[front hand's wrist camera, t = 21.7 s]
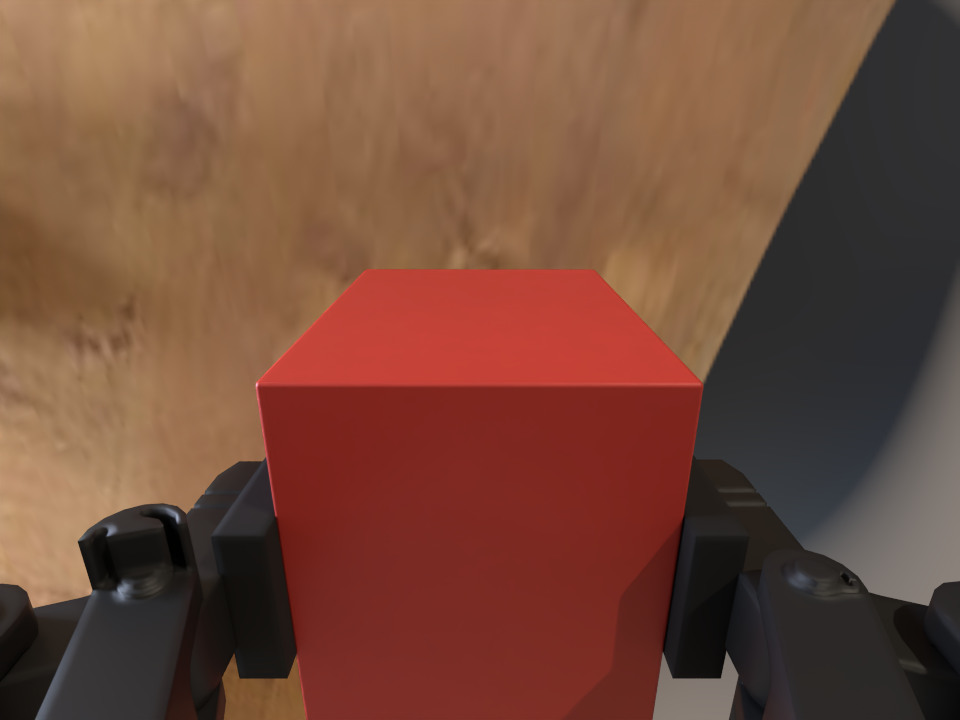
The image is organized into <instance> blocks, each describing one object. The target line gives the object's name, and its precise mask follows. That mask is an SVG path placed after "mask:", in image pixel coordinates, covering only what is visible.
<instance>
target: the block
mask: <svg viewBox="0 0 960 720" xmlns="http://www.w3.org/2000/svg"><path fill="white" fill-rule="evenodd" d="M256 392H257V399H258V405H259V412H260V419H261V425H262V432H263V438H264V445H265V452H266V458H267V465H268V471H269V478H270V484H271V491H272V498H273V504H274V511H275V516H276V523H277V529H278V536H279V542H280V549H281V555H282V562H283V568H284V575H285V581H286V588H287V595H288V601H289V608H290V614H291V621H292V627H293V634H294V640H295V647H296V656H297V662H298V669H299V675H300V682H301V688H302V695H303V702H304V708H305V715H306V720H652V719H653V712H654V705H655V699H656V692H657V686H658V679H659V673H660V666H661V660H662V653H663V647H664V640H665V634H666V627H667V620H668V614H669V607H670V601H671V594H672V588H673V581H674V575H675V568H676V562H677V555H678V549H679V542H680V536H681V529H682V522H683V516H684V509H685V503H686V496H687V490H688V483H689V477H690V470H691V464H692V457H693V451H694V444H695V437H696V431H697V424H698V418H699V411H700V405H701V398H702V392H703V384H702V382H701V381H700V380H699V379H698V378H697V377H696V376H695V375H694V374H693V373H692V372H691V371H690V369H689V368H688V367H687V366H686V365H685V364H684V363H683V362H682V361H681V360H680V359H679V358H678V357H677V356H676V355H675V354H674V353H673V352H672V351H671V350H670V349H669V347H668V346H667V345H666V344H665V343H664V342H663V341H662V340H661V339H660V338H659V337H658V336H657V335H656V334H655V333H654V332H653V331H652V330H651V329H650V328H649V327H648V326H647V324H646V323H645V322H644V321H643V320H642V319H641V318H640V317H639V316H638V315H637V314H636V313H635V312H634V311H633V310H632V309H631V308H630V307H629V306H628V305H627V304H626V302H625V301H624V300H623V299H622V298H621V297H620V296H619V295H618V294H617V293H616V292H615V291H614V290H613V289H612V288H611V287H610V286H609V285H608V284H607V283H606V282H605V281H604V279H603V278H602V277H601V276H600V275H599V274H598V273H597V272H596V271H595V270H455V269H367V270H365V271H364V272H363V273H362V274H361V275H360V276H359V277H358V278H357V279H356V280H355V281H354V282H353V283H352V284H351V285H350V286H349V287H348V288H347V289H346V291H345V292H344V293H343V294H342V295H341V296H340V297H339V298H338V299H337V300H336V301H335V302H334V303H333V304H332V305H331V306H330V307H329V308H328V309H327V310H326V311H325V312H324V313H323V314H322V315H321V316H320V317H319V318H318V319H317V320H316V321H315V323H314V324H313V325H312V326H311V327H310V328H309V329H308V330H307V331H306V332H305V333H304V334H303V335H302V336H301V337H300V338H299V339H298V340H297V341H296V342H295V343H294V344H293V345H292V346H291V347H290V348H289V349H288V350H287V351H286V352H285V353H284V355H283V356H282V357H281V358H280V359H279V360H278V361H277V362H276V363H275V364H274V365H273V366H272V367H271V368H270V369H269V370H268V371H267V372H266V373H265V374H264V375H263V376H262V377H261V378H260V379H259V380H258V381H257V383H256Z"/></svg>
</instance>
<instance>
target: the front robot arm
mask: <svg viewBox="0 0 960 720" xmlns="http://www.w3.org/2000/svg"><path fill="white" fill-rule="evenodd" d="M78 544H79V547H80V550H81V554H82V557H83V560H84V563H85V567H86V570H87V573H88V576H89V580H90V583H91V586H92V589H93V591H92V593H91V595H89V596H86V597H82V598H78V599H73V600H69V601H64V602H60V603H55V604H51V605H46V606H41V607H37V608H32V605H31V602H30V599H29V597H28V594H27V592H26V591H25V590H23V589H22V588H21V587H19V586H18V585H9V584H0V720H224V712H225V704H226V698H225V691H224V686H223V681H222V676H223V674H224V672H225V670H226V668H227V666H228V664H229V662H230V660H231V658H232V656H233V654H234V653H235V658H236V663H237V668H238V673H239V677H240V678H288V676H289V673H290V670H291V668H292V665H293V662H294V659H295V657H296V647H295V640H294V634H293V627H292V621H291V614H290V608H289V601H288V595H287V588H286V581H285V575H284V568H283V562H282V555H281V549H280V542H279V536H278V529H277V523H276V516H275V511H274V504H273V498H272V491H271V484H270V478H269V471H268V465H267V458H266V457H265V459H264V460H263V461H239V462H238V463H236V464H235V465H233V466H232V467H230V468H229V469H227V470H226V471H224V472H222V473H221V474H219V475H218V476H217V477H216V479H215V480H214V481H213V482H212V483H211V485H210V486H209V487H208V488H207V490H206V491H205V495H202V496H201V497H200V498H199V500H198V501H197V502H196V503H195V505H194V509H191V510H190V511H189V512H188V513H187V515H186V513H185V512H184V511H182V510H181V509H180V508H179V507H177V506H173V505H168V504H163V503H162V504H146V505H141V506H137V507H133V508H129V509H125V510H122V511H120V512H118V513H115V514H113V515H111V516H109V517H106V518H104V519H103V520H101V521H100V522H98V523H97V524H95V525H94V526H92V527H91V528H89V529H88V530H87V531H86V532H85V533H84V535H83V536H82V537H81V538H80V539H79V541H78ZM726 650H727V652H728V654H729V656H730V658H731V660H732V662H733V664H734V666H735V668H736V670H737V672H738V675H739V676H738V681H737V686H736V690H735V695H734V699H733V704H732V708H731V713H730V717H729V720H960V581H958V582H948V583H943V584H942V585H940V586H939V587H938V588H936V589H935V590H934V593H933V596H932V598H931V601H930V604H929V606H926V605H921V604H916V603H912V602H907V601H903V600H898V599H893V598H889V597H884V596H880V595H876V594H873V593H869V592H868V590H867V588H866V587H865V586H864V584H863V583H862V581H861V580H860V579H859V577H858V576H857V575H855V574H854V573H853V572H851V571H850V570H849V569H848V568H846V567H845V566H844V565H842V564H840V563H838V562H836V561H834V560H832V559H830V558H828V557H826V556H824V555H821V554H818V553H814V552H811V551H807V550H804V548H803V547H802V546H801V545H800V543H799V542H798V541H797V540H796V539H795V537H794V536H793V535H792V534H791V532H790V531H789V530H788V529H787V527H786V526H785V525H784V524H783V523H782V521H781V520H780V519H779V518H778V516H777V515H776V514H775V513H774V511H773V510H772V509H771V508H770V507H767V503H766V502H765V500H764V499H763V498H762V497H761V495H760V494H759V493H756V489H755V488H754V487H753V486H752V484H751V483H750V482H749V481H748V479H747V478H746V477H745V476H744V474H743V473H741V472H740V471H738V470H737V469H735V468H733V467H732V466H730V465H729V464H727V463H726V462H724V461H723V460H696V458H695V457H694V455H693V457H692V464H691V470H690V477H689V483H688V490H687V496H686V503H685V509H684V516H683V522H682V529H681V536H680V542H679V549H678V555H677V562H676V568H675V575H674V581H673V588H672V594H671V601H670V607H669V614H668V620H667V627H666V634H665V640H664V647H663V653H664V655H665V658H666V661H667V664H668V666H669V669H670V672H671V675H672V677H673V678H721V675H722V670H723V665H724V660H725V655H726Z"/></svg>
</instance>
